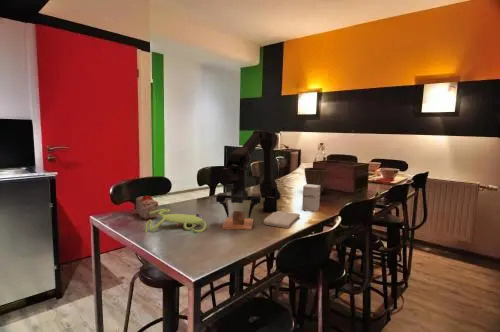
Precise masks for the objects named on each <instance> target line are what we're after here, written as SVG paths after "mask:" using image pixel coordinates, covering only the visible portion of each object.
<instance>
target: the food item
mask: <svg viewBox="0 0 500 332" xmlns="http://www.w3.org/2000/svg"><path fill="white" fill-rule="evenodd" d="M156 210H160V209H159V202H158V201H156V200H155V199H154V198H153V197H152V196H151V195H144V196H138V197H136V198H135V213H136V214H137V215H139V217H140V219H141V218H142V219H144V220H152V219H153V220H154V219H158V218H159V212H158V213H154V214H151V215H150V212H153V211H156Z"/></svg>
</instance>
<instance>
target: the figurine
mask: <svg viewBox="0 0 500 332" xmlns="http://www.w3.org/2000/svg"><path fill="white" fill-rule="evenodd" d="M154 213H158V217H159V216H160V217H161V218H162V219H161V220H160V221H158V223H156V224H155V225H154V226H153V227H152V224H153V220H152V219H147V220H148V221H146V225H145V233H147V232H148V231H149V229H150V231H151V232H152V231H156V230H157V229H158V227H160V226H161V225H162V224H163V223H164V222H165V221H167V222H170V223H176V225H175V226H180V225H181V224H183V229H185V230H192V232H194V233H197V234H198V233H203V232H205V230H206V229H207V225H208V224H207V223H206V221H204V219H203V214H199V213H196V214H184V213H183V214H182V213H171V210H170V209H169V208H161V209H159V210H156V211H153V212H150V215H151V214H154ZM199 224H202V225H203V228H202V229H195V227H197V226H198V225H199ZM187 225H188V227H187ZM190 226H191V227H190Z"/></svg>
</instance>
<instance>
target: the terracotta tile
mask: <svg viewBox="0 0 500 332" xmlns="http://www.w3.org/2000/svg"><path fill="white" fill-rule="evenodd" d="M253 223H254V218H244V225H236V224H233V217H227V218H226V219H225V221H224V223H223V226H222V229H223V230H240V229H246V230H245V231H252V230H253V229H252V228H253ZM251 229H252V230H251Z"/></svg>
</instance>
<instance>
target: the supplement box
mask: <svg viewBox="0 0 500 332" xmlns="http://www.w3.org/2000/svg"><path fill="white" fill-rule="evenodd" d="M320 199H321V194H320V185H312V184H307V183H306V184H304V185H303V188H302V205H301V208H302V209H301V210H303V211H311V212H314V213H315V212H317V211H318V210H320Z"/></svg>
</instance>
